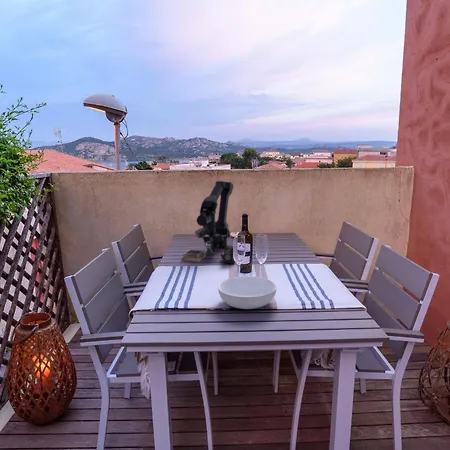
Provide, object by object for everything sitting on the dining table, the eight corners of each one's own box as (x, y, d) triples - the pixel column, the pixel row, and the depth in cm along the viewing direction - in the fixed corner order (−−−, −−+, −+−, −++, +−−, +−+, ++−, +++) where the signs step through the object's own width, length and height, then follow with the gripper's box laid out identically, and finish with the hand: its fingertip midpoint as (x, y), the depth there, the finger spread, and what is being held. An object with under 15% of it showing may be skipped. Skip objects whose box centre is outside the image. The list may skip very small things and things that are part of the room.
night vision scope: (230, 260, 186) (244, 249, 183) (226, 271, 168) (241, 259, 166) (220, 249, 185) (234, 238, 183) (215, 259, 168) (231, 247, 165)
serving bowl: (241, 288, 138) (241, 272, 137) (287, 301, 125) (287, 283, 124) (206, 305, 122) (205, 287, 121) (254, 322, 109) (254, 302, 108)
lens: (207, 252, 192) (207, 240, 191) (216, 253, 191) (216, 240, 190) (204, 255, 187) (204, 242, 186) (213, 255, 186) (213, 242, 185)
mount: (188, 255, 187) (188, 248, 187) (206, 256, 185) (205, 249, 184) (181, 260, 178) (181, 253, 177) (199, 261, 175) (199, 254, 175)
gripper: (189, 221, 190) (190, 248, 193) (204, 227, 174) (205, 256, 177) (207, 219, 195) (207, 246, 198) (223, 224, 179) (223, 253, 182)
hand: (210, 250), depth 189 cm, fingers open, 8 cm apart
